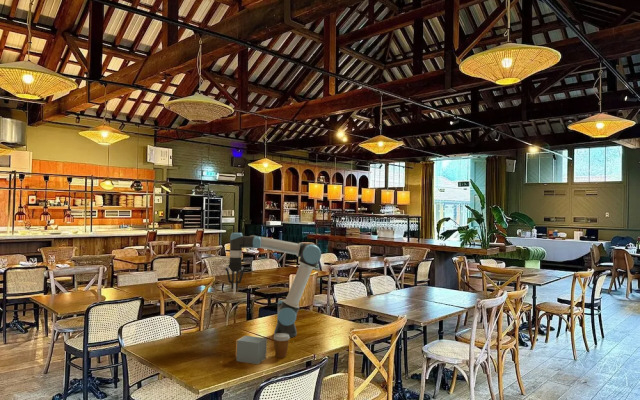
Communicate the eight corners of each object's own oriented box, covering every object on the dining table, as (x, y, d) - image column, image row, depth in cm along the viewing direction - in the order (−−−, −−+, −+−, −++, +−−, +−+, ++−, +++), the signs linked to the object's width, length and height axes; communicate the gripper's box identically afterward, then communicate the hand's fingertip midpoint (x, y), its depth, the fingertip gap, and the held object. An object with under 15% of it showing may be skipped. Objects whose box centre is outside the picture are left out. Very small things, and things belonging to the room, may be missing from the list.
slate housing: (235, 360, 243) (236, 340, 243) (244, 355, 252) (245, 335, 253) (257, 364, 238) (258, 343, 239) (266, 358, 248) (266, 338, 249)
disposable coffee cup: (282, 360, 247) (283, 338, 247) (269, 356, 252) (269, 335, 252) (292, 355, 255) (293, 334, 255) (279, 352, 260) (279, 331, 260)
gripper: (245, 256, 288) (244, 292, 287) (225, 256, 285) (223, 293, 284) (246, 257, 280) (244, 295, 280) (225, 257, 278) (223, 295, 277)
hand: (234, 293), depth 282 cm, fingers closed
